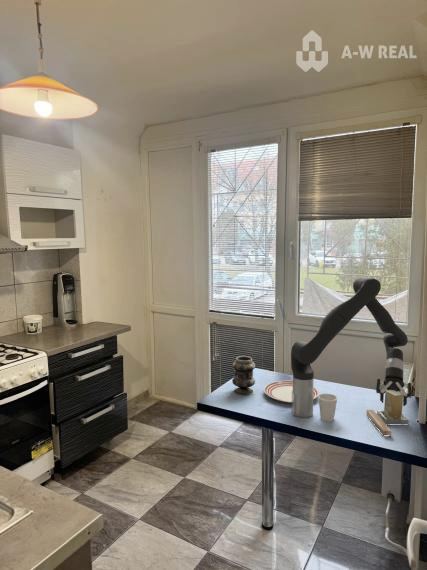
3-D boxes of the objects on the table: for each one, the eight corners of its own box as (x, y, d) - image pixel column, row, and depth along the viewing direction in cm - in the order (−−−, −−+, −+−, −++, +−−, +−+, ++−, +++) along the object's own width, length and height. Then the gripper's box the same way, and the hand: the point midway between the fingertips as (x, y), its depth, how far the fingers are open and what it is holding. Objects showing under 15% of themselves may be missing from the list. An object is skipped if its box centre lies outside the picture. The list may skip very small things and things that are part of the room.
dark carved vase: (259, 393, 204) (259, 359, 202) (239, 397, 198) (239, 362, 196) (247, 385, 215) (247, 353, 213) (228, 389, 209) (228, 356, 207)
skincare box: (383, 416, 174) (384, 390, 173) (391, 415, 176) (392, 388, 174) (394, 422, 168) (395, 395, 167) (402, 421, 170) (403, 394, 168)
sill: (383, 436, 157) (383, 430, 157) (366, 415, 177) (366, 409, 177) (391, 436, 157) (391, 431, 157) (373, 415, 177) (373, 409, 177)
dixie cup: (320, 422, 170) (321, 400, 169) (315, 414, 178) (315, 393, 177) (339, 422, 170) (340, 400, 169) (333, 414, 178) (334, 393, 177)
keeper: (385, 425, 167) (385, 419, 167) (377, 415, 177) (377, 410, 177) (408, 425, 167) (408, 420, 167) (398, 415, 177) (399, 410, 176)
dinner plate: (324, 407, 187) (325, 400, 186) (267, 407, 187) (267, 400, 187) (311, 386, 214) (311, 380, 213) (261, 386, 214) (261, 380, 214)
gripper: (377, 364, 180) (375, 397, 170) (412, 368, 174) (412, 402, 165) (377, 372, 185) (375, 404, 176) (411, 376, 179) (411, 410, 170)
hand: (393, 403), depth 170 cm, fingers open, 8 cm apart
